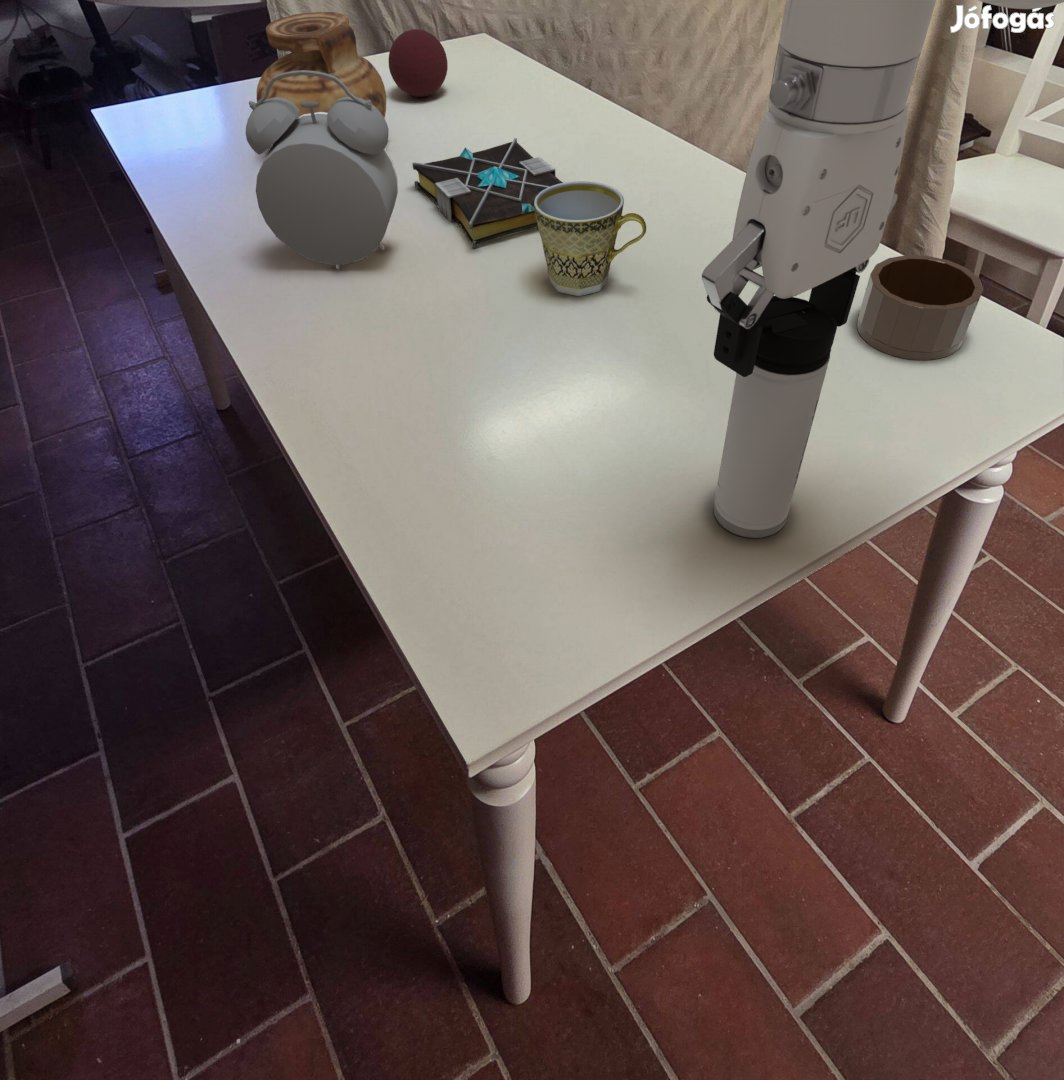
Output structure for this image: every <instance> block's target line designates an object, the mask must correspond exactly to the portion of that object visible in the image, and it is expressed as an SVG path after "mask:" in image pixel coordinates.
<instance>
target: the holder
mask: <svg viewBox="0 0 1064 1080" xmlns="http://www.w3.org/2000/svg"><path fill="white" fill-rule="evenodd" d="M984 289H985V288H984V286H983V284H982V282H981V280H980V277H978V276H977V275H976V274H974V272H972V271H971V270H970V269H969V268H967V267H965V266H963V265H961V264H958V263H957V262H956V263H955V262H954V261H951V260H948V259H945V258H939V257H936V256H930V255H919V254H917V255H916V254H905V255H898V256H893V257H889V258H888V257H887V258H886V259H884V260H882V261H880V262H879V263H877V264H875V266H874V267H873V269H872V270H871V272H870V274H869V277H868V281H867V284H866V287H865V291H864V294H863V299H862V301H861V306H860V309H859V313H858V319H857V323H856V327H857V331H858V333H859V335H860V337H861V338H862V339H863V340H864V342H866V343H867V344H868V345H870V346H871V347H873V348H874V349H876V350H877V351H880V352H882V353H885V354H887V355H889V356H892V357H896V358H901V359H905V360H911V361H912V360H913V361H933V360H938V359H942V358H945V357H948V356H950V355H953V354H954V353H955V352H957V351H958V349H959V348H960V347H961V346H962V344H963V341H964V339H965V336H966V334H967V332H968V329H969V327H970V324H971V322H972V320H973V317H974V315H975V312H976V309H977V307H978V305H979V302H980V300H981V297H982V294H983V292H984V291H985V290H984Z"/></svg>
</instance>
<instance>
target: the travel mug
mask: <svg viewBox="0 0 1064 1080" xmlns="http://www.w3.org/2000/svg"><path fill="white" fill-rule="evenodd" d="M815 307H816V304H813V303H811V302H809V300H806V299H804V298H800V297H796V296H794V297H791V298H787V299H782V298H779V297H777V296H775V295H774V296H773V297H772V299H771V300H770V302H769V303H768V305H767V306H766V308H765V310H764V311H763V313H762V314H761V316H760V317H759V319H758V320H757V322H758V323H760V324H761V325H762V332H761V336H760V341H759V346H758V351H757V356H756V360H755V365H754V370H753V373H752V374H750V375H749V376H747V377H742V376H741V375H739V374H738V373H736V372H735V379H734V385H733V391H732V395H731V403H730V408H729V414H728V420H727V426H726V432H725V437H724V443H723V448H722V455H721V462H720V466H719V472H718V477H717V484H716V489H715V494H714V500H713V501H714V502H713V506H712V507H713V508H712V509H713V510H712V511H713V514H714V517H715V519H716V520H717V522H718V523H719V524H720V526H722V528H724V529H725V530H727V531H728V532H730V533H732V534H734V535H736V536H740V537H743V538H748V539H749V538H751V539H759V538H765V537H769V536H773V535H774V534H776V533H777V532H780V531H781V530H782V528H783V527H784V526H785V524H786V523H787V520H788V516H789V513H790V508H791V505H792V501H793V497H794V493H795V490H796V486H797V482H798V479H799V476H800V475H799V474H800V472H801V468H802V463H803V460H804V457H805V454H806V453H805V452H806V449H807V446H808V441H809V438H810V434H811V430H812V428H813V427H812V426H813V422H814V418H815V415H816V411H817V408H818V404H819V400H820V397H821V393H822V389H823V385H824V382H825V379H826V378H825V377H826V374H827V370H828V367H829V366H828V365H829V362H830V359H831V354H832V353H831V352H832V347H833V344H834V341H835V337H836V334H837V330H838V326H837V323H836V321H835V320H834V318H833V317H830V316H829V315H828V314H827V313H826V312H824V311H822V310H821V309H818V308H815Z"/></svg>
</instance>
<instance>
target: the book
mask: <svg viewBox="0 0 1064 1080" xmlns="http://www.w3.org/2000/svg"><path fill="white" fill-rule="evenodd" d="M412 170H413V171H417V174H418V175H417V176H418V180H415V181H414V188H415V189H419V190H422V192H424V193H425V194H426V195H428V196H429V197H430V198H431V199H432V200H433V201H434V202H436V203H437V208H438V210H439V211H440V213H442V215H444V217H446V218H447V220H448V221H449V222H450V223H455V222H456V223H457V225H459V226H460V227H461V229H462V230H463V232H464V233H465V234H466V236H467V237H468V239H469V241H470V242H471V244H472V249H476V248H477V246H478V245H481V244H484V243H487V242H490V241H493V240H497V239H499V238H503V237H505V236H509V235H513V234H517V233H520V232H525V231H528V230H532V229H536V228H538V224H537V219H536V214H535V207H534V201H535V198H536V196H537V195H538V194H539V193H540V192H541V191H543V190H544V189H546V188H548V187H550V186H553V185H556V184H560V183H564V181H561V180H560V179H559V178H558V177H557V176H556V168H555V167H554V166H552V164H550V163H548V162H547V161H546V160H544V159H543V157H540V156H537V157H533V156H532V155H531V154H530V153H529V152H528V151H527V150H526V149H525V148H524V147H523V146H522V145H521V144H520V143H518V138H517V137H513V140H512V141H510V142H506V143H503V144H499V145H496V146H494V147H490V148H487V149H483V150H479V151H478V150H477V151H474V152H472V151H471V150H470V149H468V147H466V146H465V147H464V148H463V150H462V152H461V153H460V155H458V156H454V157H450V158H446V159H441V160H437V161H432V162H425V163H420V162H412Z"/></svg>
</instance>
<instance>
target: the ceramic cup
mask: <svg viewBox="0 0 1064 1080" xmlns="http://www.w3.org/2000/svg"><path fill="white" fill-rule="evenodd" d="M624 203H625V199H624V196H623V194H622V193H621V192H620V191H619V190H618V189H617V188H614V187H613V186H611V185H608V184H606V183H601V182H597V181H590V180H589V181H588V180H574V181H567V182H566V181H564V182H563V183H560V184H556V185H553V186H550V187H548V188H546V189H544V190H543V191H541V192H540V193H539V194H538V195H537V196H536V198H535V201H534V207H535V214H536V219H537V224H538V227H537V229H538V233H539V236H540V239H541V243H542V249H543V255H544V259H545V263H546V268H547V269H546V270H547V273H548V277H549V282H550V284H552V286H553V287H554V288H555V289H556V291H557V292H558V293H561V294H565V295H566V294H567V295H571V296H576V297H583V296H586V295H591V294H594V293H599V292H601V290H603V288H604V287H605V285H606V284H607V283H608V279H609V273H610V269H611V264H612V262H613V260H614V259H615V257H616V256H617V255H619V254H621V253H622V252H624V251H625V250H626V249H627V248H629V247H630V246H632V245H634V244H635V243H637V242H639V241H640V240H642V239H643V238H644V237H645V235H646V233H647V222H646V221H645V219H644V217H643V216H642V215H640V214H638V213H635V212H629V213H626V214H624V215H623V210H624V206H625V205H624ZM631 221H633V222H636V223H639V224H640V225H641V229H642V231H641V233H640V234H639V235H638V236H637V237H635V238H632V239H631V240H629V241H628V242H626V243H625V244H623V246H621V247H620V248H618V249H616V248H615V246H616V241H617V237H618V233H619V231H620V229H621V228H622V226H623V225H624V224H625V223H628V222H631Z"/></svg>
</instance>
